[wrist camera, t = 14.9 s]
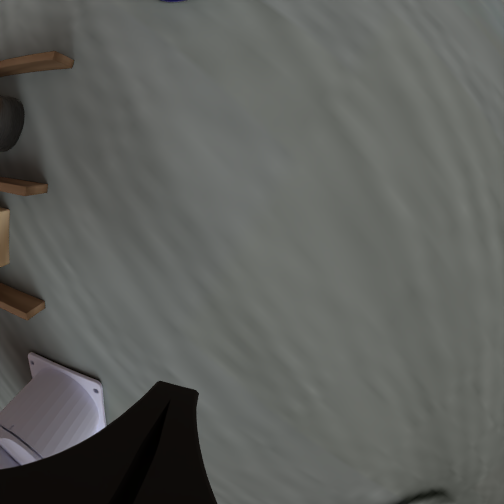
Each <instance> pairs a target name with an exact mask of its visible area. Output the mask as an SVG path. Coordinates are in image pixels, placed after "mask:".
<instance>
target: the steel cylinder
mask: <svg viewBox="0 0 504 504" xmlns="http://www.w3.org/2000/svg"><path fill="white" fill-rule="evenodd" d="M23 125H24V108H23V105H22V103H21V102H20V101H19V100H18V99H15V98H11V97H6V96H1V95H0V152H5V151H8V150H10V149H11V148H12V147H13V146H14V145H15V144H16V142H17V141H18V139H19V137H20V135H21V132H22V129H23Z"/></svg>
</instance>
